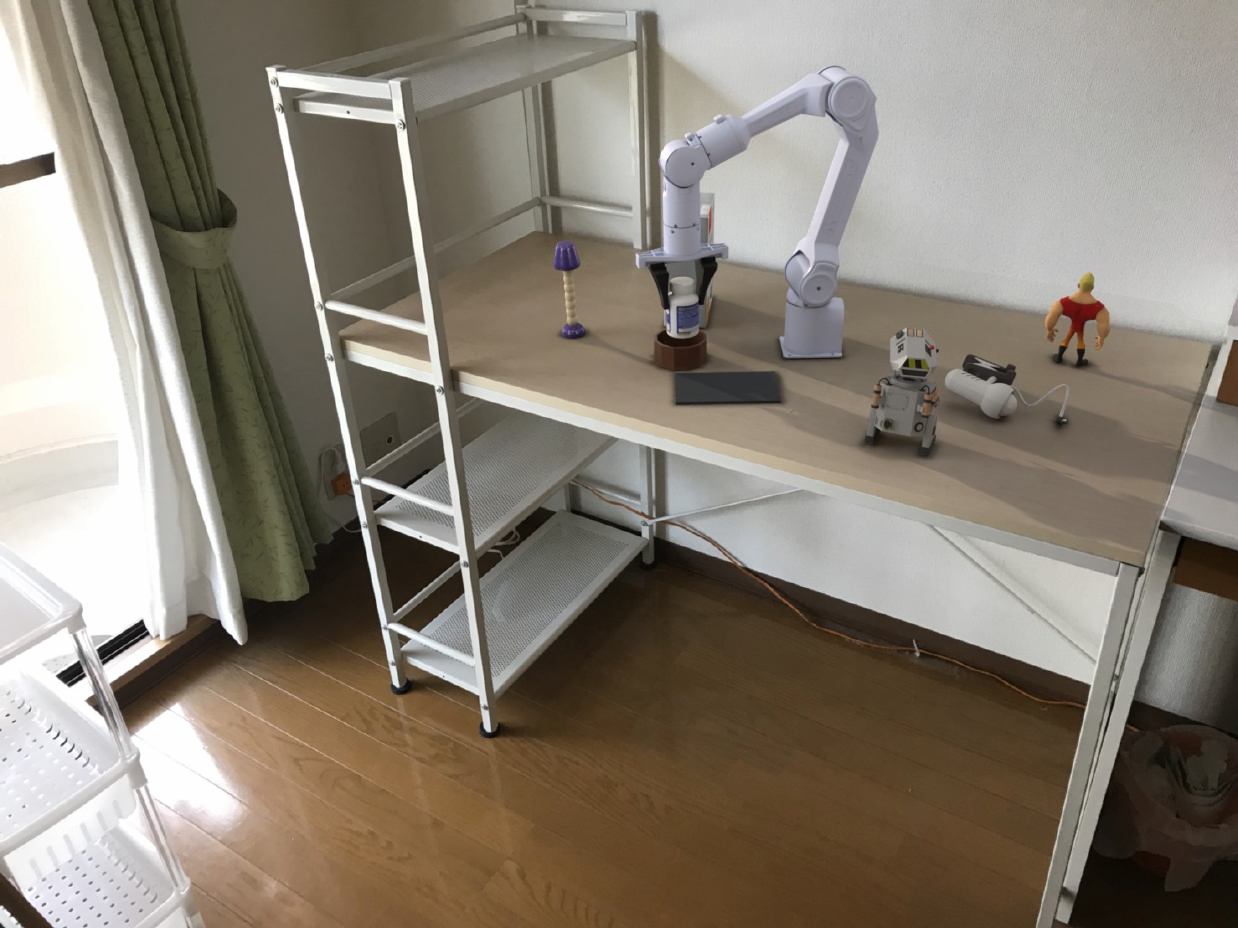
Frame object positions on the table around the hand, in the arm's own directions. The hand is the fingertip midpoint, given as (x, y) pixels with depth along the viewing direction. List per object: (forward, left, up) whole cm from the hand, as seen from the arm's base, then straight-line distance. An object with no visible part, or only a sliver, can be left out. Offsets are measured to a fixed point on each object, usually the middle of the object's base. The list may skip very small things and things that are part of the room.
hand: (682, 305), depth 160 cm
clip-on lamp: (-48, +18, -10) cm, 52 cm away
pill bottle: (0, 0, -5) cm, 5 cm away
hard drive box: (-2, -21, -10) cm, 23 cm away
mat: (-7, +10, -10) cm, 16 cm away
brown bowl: (0, -1, -10) cm, 10 cm away
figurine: (-31, +26, -10) cm, 42 cm away
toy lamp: (+19, -12, -10) cm, 25 cm away
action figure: (-62, +3, -10) cm, 62 cm away
